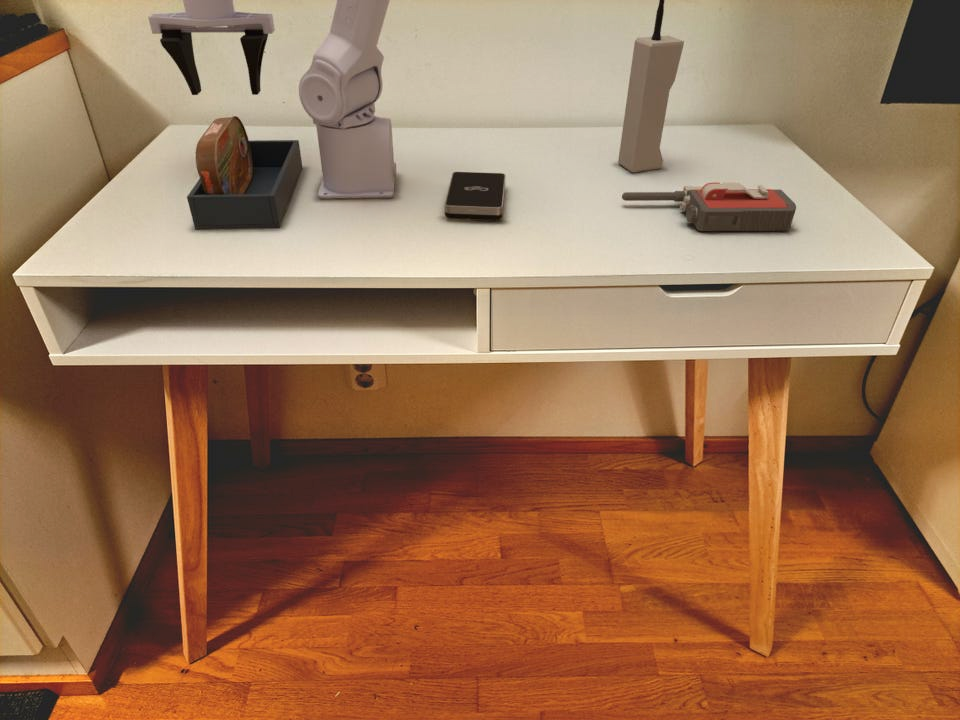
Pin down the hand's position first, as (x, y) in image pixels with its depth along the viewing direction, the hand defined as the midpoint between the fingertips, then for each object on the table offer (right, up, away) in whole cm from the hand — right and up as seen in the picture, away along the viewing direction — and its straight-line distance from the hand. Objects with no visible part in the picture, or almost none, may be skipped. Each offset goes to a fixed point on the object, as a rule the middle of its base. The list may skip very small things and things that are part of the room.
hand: (226, 92), depth 89 cm
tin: (+2, -14, -3) cm, 14 cm away
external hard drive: (+33, -16, -3) cm, 36 cm away
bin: (+4, -14, -2) cm, 15 cm away
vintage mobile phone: (+56, -8, +8) cm, 57 cm away
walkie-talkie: (+61, -18, -6) cm, 64 cm away
